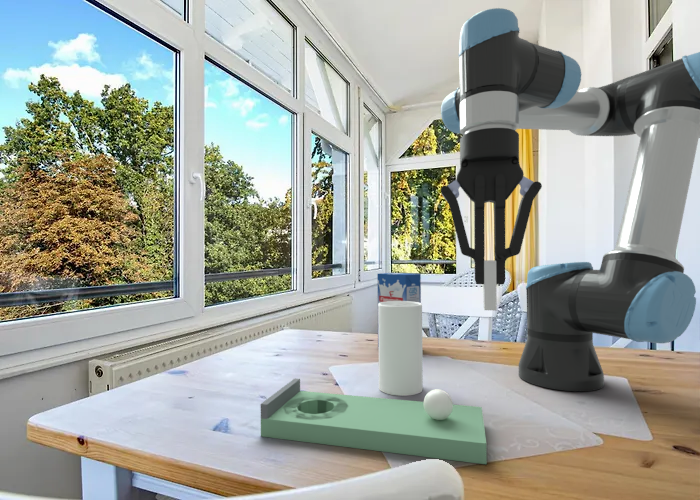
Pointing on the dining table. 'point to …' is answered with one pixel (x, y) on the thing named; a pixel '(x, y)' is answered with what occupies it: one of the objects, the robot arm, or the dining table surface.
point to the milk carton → (399, 287)
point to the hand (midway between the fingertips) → (489, 308)
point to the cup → (400, 347)
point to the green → (374, 424)
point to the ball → (438, 404)
